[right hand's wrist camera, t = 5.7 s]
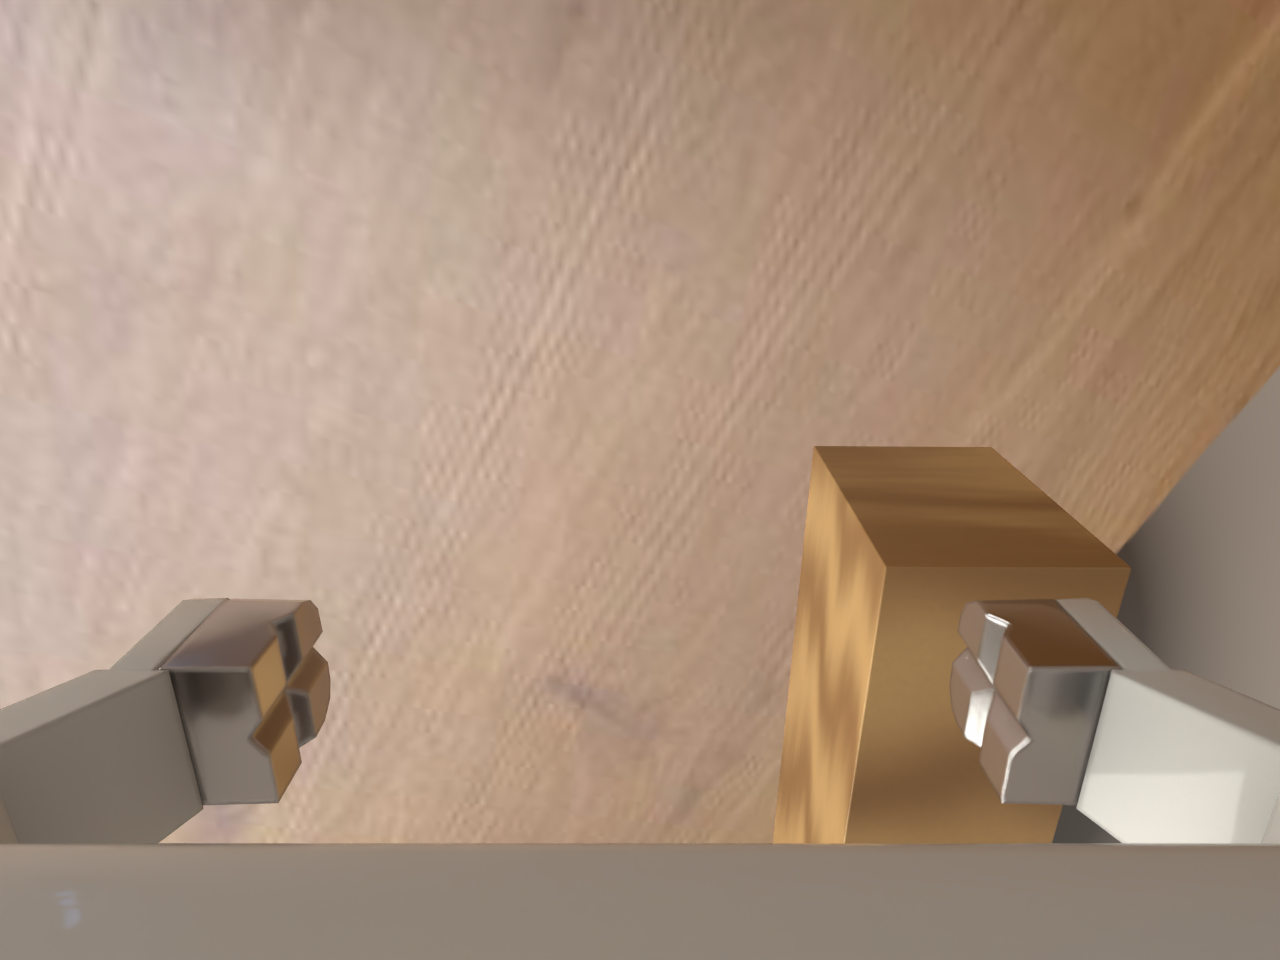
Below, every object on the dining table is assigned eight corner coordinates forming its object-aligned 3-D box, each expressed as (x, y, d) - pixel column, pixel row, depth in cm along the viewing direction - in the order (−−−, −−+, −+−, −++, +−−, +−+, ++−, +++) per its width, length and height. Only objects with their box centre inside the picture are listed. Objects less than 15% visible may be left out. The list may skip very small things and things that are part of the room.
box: (813, 445, 28) (885, 567, 20) (991, 446, 28) (1132, 567, 20) (760, 956, 38) (795, 1168, 30) (891, 956, 38) (958, 1167, 30)
